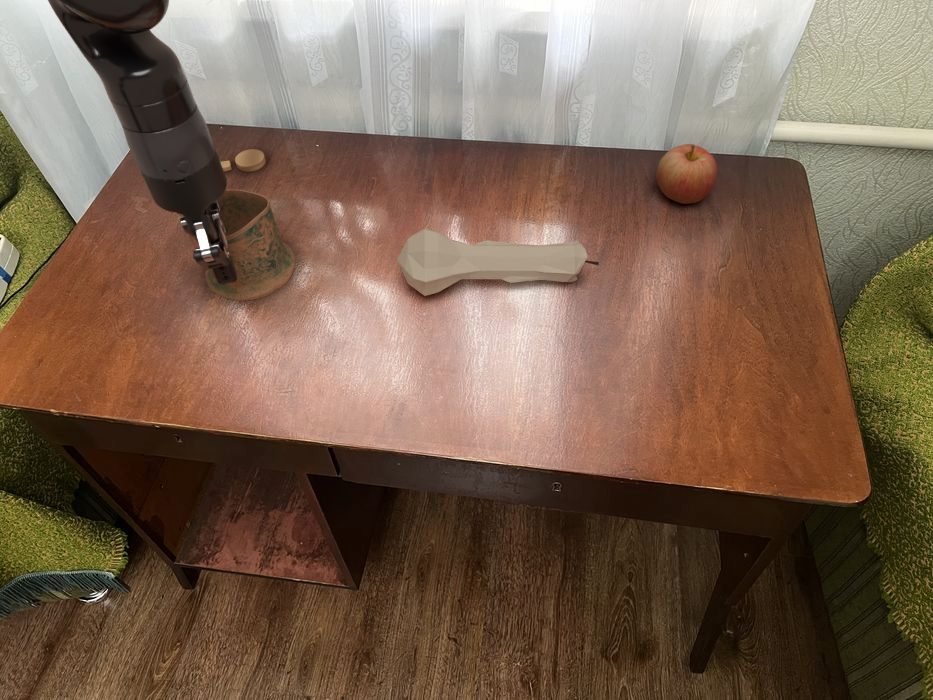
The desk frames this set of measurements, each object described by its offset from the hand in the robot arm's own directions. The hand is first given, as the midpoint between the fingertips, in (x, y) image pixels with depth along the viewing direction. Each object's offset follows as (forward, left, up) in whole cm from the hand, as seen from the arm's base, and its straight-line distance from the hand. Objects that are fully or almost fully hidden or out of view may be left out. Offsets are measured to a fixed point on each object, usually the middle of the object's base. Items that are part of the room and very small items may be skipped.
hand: (228, 279), depth 82 cm
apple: (+62, +2, -6) cm, 62 cm away
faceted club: (+32, -6, -6) cm, 33 cm away
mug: (0, +10, -6) cm, 11 cm away
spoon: (0, +31, -6) cm, 31 cm away
